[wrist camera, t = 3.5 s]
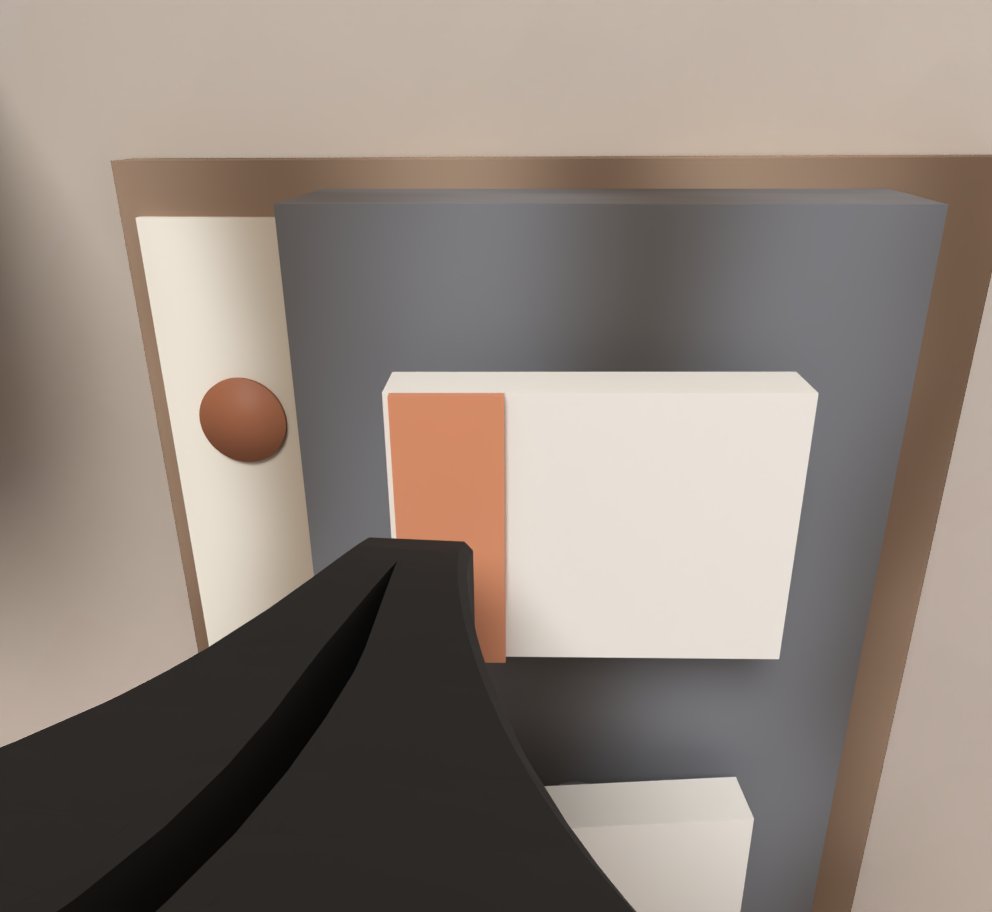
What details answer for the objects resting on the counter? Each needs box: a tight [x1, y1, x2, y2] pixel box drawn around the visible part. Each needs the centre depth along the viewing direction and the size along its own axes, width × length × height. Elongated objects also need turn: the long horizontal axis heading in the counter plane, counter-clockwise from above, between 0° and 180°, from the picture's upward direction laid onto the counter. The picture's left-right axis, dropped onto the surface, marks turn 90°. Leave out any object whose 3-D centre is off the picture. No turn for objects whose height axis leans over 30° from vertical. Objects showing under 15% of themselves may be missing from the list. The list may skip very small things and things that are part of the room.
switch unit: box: [111, 155, 992, 912], centre depth 19 cm, size 16×26×3 cm, turn 1°
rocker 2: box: [544, 777, 754, 912], centre depth 16 cm, size 6×4×2 cm
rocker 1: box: [382, 372, 819, 663], centre depth 13 cm, size 6×4×2 cm
